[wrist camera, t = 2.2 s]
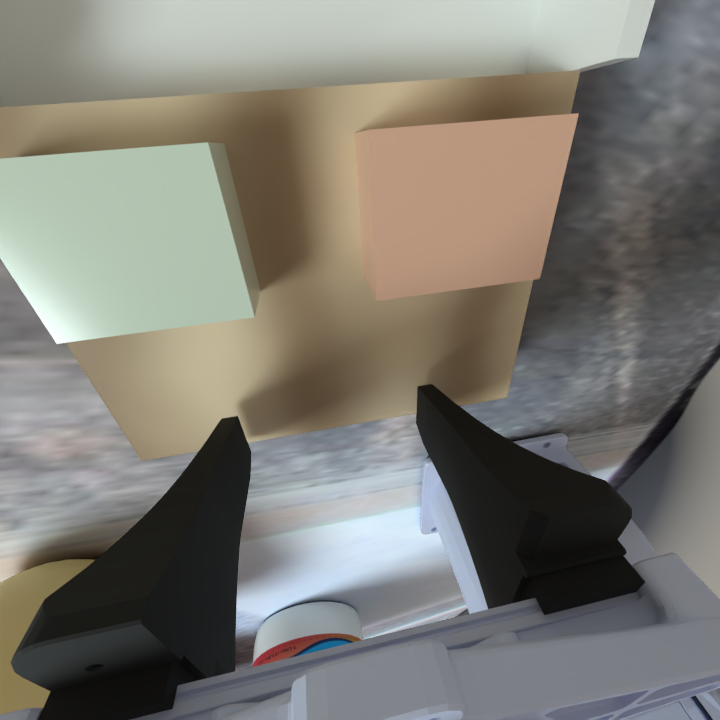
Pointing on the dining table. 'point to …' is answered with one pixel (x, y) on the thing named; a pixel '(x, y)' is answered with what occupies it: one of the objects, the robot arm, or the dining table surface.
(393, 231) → the tile
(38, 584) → the sculpture
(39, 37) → the tray
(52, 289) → the tile
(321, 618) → the fruit juice
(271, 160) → the board
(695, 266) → the dining table surface
